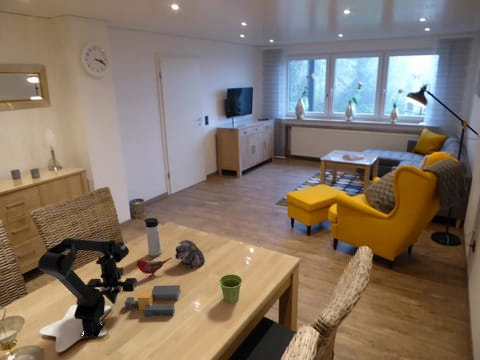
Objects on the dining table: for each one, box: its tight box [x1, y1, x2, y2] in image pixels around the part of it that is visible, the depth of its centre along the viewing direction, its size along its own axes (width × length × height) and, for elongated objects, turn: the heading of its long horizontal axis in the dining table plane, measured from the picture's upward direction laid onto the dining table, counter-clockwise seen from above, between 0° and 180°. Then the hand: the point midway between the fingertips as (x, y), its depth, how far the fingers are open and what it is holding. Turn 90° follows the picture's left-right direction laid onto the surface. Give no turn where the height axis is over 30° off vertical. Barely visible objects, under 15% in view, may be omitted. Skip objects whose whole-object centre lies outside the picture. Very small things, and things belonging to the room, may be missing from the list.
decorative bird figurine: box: [134, 257, 173, 278], centre depth 155 cm, size 3×18×10 cm, turn 123°
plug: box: [124, 290, 154, 311], centre depth 134 cm, size 4×10×6 cm, turn 90°
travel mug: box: [144, 217, 162, 258], centre depth 172 cm, size 6×7×20 cm
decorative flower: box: [174, 239, 205, 269], centre depth 164 cm, size 15×12×15 cm
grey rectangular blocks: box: [143, 284, 181, 317], centre depth 136 cm, size 16×11×3 cm
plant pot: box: [218, 273, 243, 304], centre depth 136 cm, size 9×9×9 cm
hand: (114, 303), depth 134 cm, fingers closed
